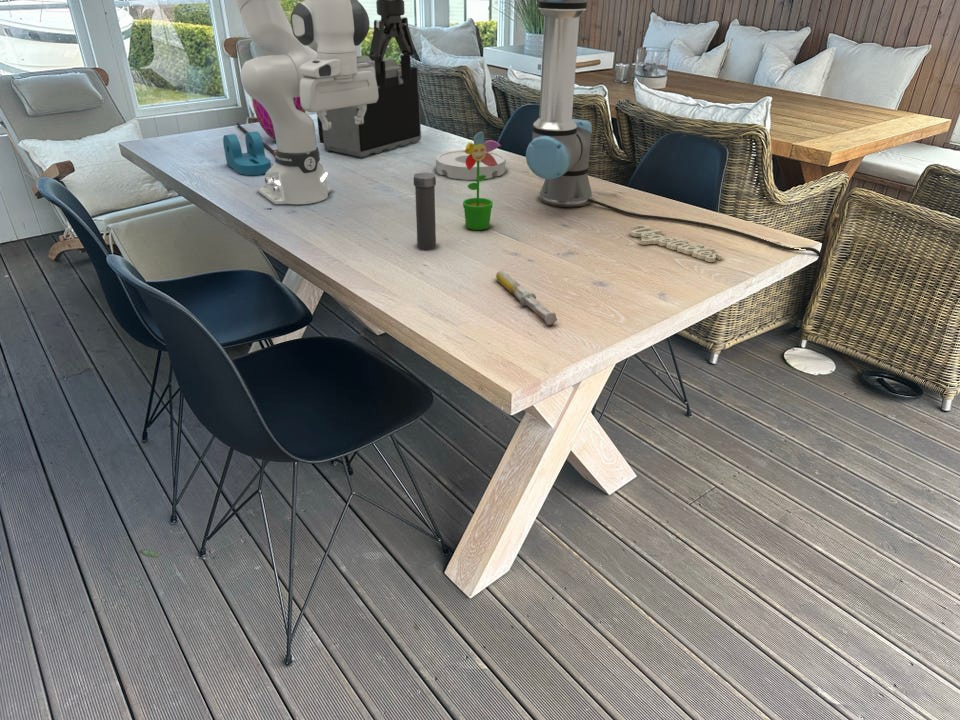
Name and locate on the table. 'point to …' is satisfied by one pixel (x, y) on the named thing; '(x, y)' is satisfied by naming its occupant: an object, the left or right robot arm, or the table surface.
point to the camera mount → (246, 154)
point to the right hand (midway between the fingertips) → (394, 83)
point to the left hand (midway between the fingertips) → (343, 126)
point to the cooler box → (377, 117)
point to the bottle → (425, 217)
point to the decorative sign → (674, 243)
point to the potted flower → (478, 207)
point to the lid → (424, 180)
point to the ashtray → (457, 168)
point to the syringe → (525, 297)
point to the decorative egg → (265, 118)
